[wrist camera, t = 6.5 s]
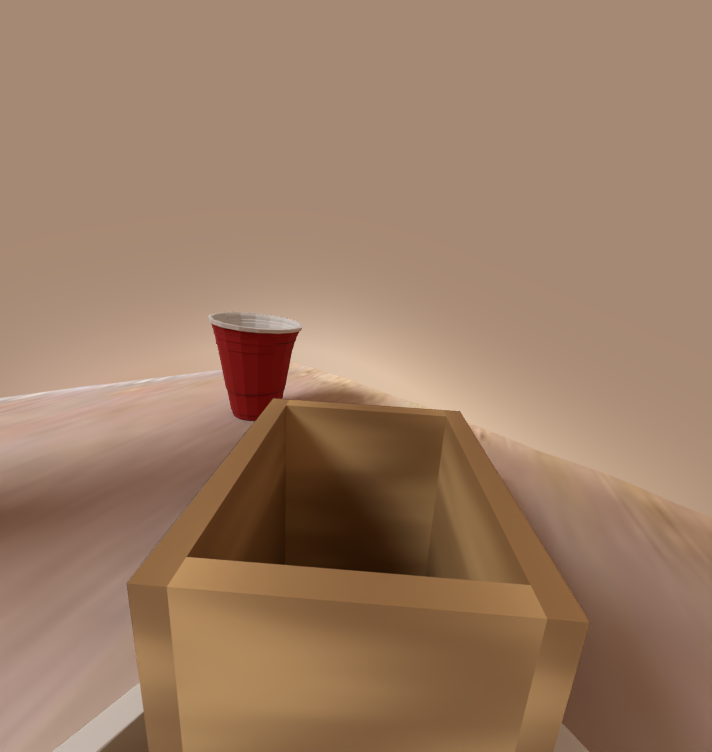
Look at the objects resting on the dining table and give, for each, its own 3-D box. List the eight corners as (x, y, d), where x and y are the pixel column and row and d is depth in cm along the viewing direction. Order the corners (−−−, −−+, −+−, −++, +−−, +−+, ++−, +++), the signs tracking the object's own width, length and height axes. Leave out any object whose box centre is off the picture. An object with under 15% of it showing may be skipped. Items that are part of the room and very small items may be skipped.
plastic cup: (288, 434, 42) (289, 326, 38) (195, 425, 43) (188, 318, 39) (310, 402, 52) (312, 315, 49) (234, 395, 53) (231, 309, 50)
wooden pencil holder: (194, 1093, 8) (126, 583, 5) (274, 727, 15) (273, 398, 11) (446, 1125, 8) (590, 622, 4) (413, 740, 15) (459, 411, 11)
